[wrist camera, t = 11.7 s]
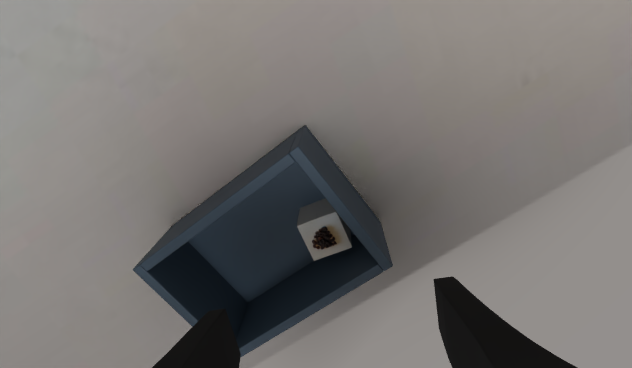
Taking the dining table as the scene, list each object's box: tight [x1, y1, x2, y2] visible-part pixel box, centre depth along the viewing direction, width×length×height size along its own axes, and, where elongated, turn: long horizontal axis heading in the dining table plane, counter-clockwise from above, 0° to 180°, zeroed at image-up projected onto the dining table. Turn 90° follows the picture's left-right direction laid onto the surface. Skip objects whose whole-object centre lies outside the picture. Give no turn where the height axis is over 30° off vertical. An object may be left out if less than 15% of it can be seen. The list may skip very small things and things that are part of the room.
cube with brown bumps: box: [297, 198, 352, 261], centre depth 19 cm, size 2×2×2 cm
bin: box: [133, 125, 393, 357], centre depth 19 cm, size 10×7×4 cm
